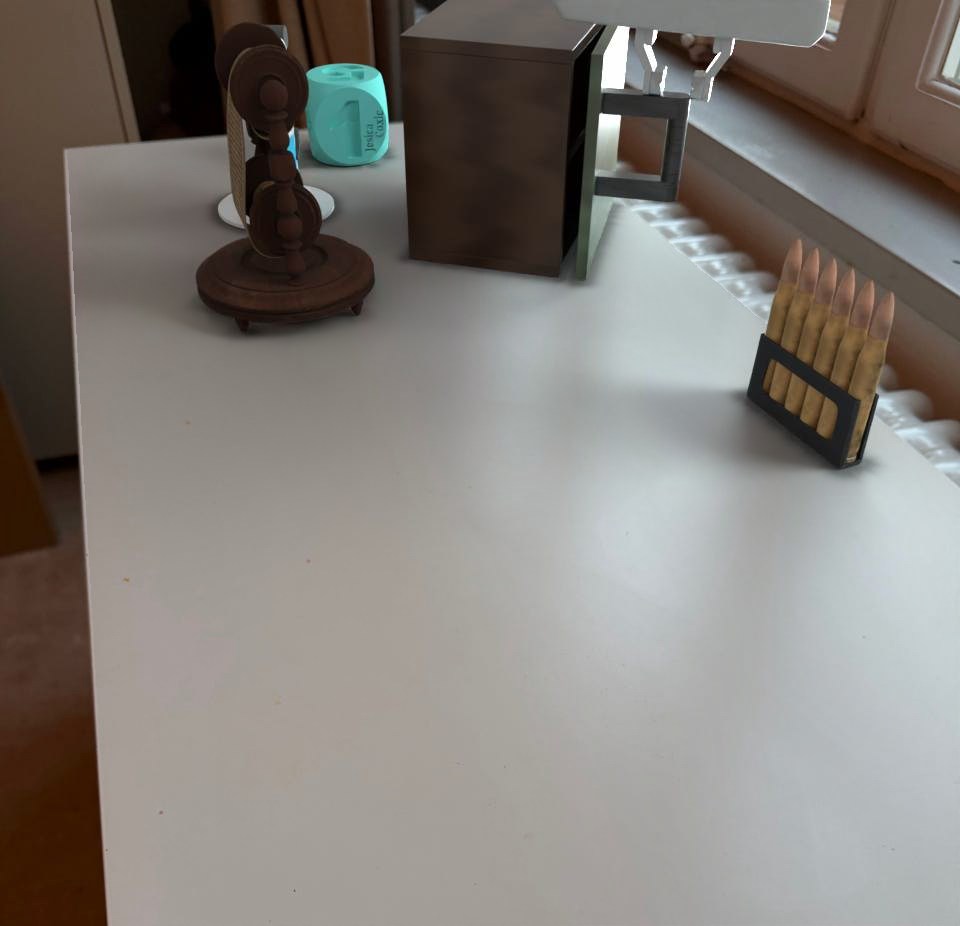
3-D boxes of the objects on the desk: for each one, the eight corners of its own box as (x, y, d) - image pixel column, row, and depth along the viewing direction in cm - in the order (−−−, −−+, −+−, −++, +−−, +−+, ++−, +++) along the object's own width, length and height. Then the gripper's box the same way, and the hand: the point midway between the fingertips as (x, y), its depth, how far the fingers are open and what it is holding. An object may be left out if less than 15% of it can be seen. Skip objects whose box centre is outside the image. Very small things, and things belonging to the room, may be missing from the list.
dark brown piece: (189, 275, 91) (139, 16, 77) (352, 253, 94) (332, 2, 81) (215, 352, 81) (163, 70, 67) (397, 324, 84) (382, 51, 71)
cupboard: (600, 204, 103) (617, -3, 91) (558, 278, 91) (572, 50, 78) (466, 188, 106) (466, -15, 94) (408, 258, 94) (399, 35, 81)
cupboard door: (680, 210, 102) (709, 4, 90) (664, 288, 89) (694, 61, 77) (602, 203, 103) (620, -1, 91) (574, 279, 90) (591, 54, 78)
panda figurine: (324, 235, 97) (306, 58, 87) (205, 232, 98) (173, 56, 87) (341, 188, 106) (327, 22, 96) (232, 185, 106) (206, 20, 96)
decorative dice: (316, 169, 110) (308, 87, 104) (308, 144, 116) (300, 65, 110) (390, 163, 111) (386, 82, 106) (379, 139, 117) (374, 61, 111)
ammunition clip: (745, 395, 77) (778, 235, 68) (765, 390, 77) (800, 230, 69) (840, 469, 70) (890, 300, 61) (862, 463, 70) (914, 295, 62)
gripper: (863, -115, 72) (812, 100, 81) (576, -139, 75) (559, 70, 85) (862, -101, 67) (808, 124, 77) (557, -127, 71) (542, 92, 80)
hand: (675, 96), depth 81 cm, fingers closed on cupboard door, 2 cm apart
